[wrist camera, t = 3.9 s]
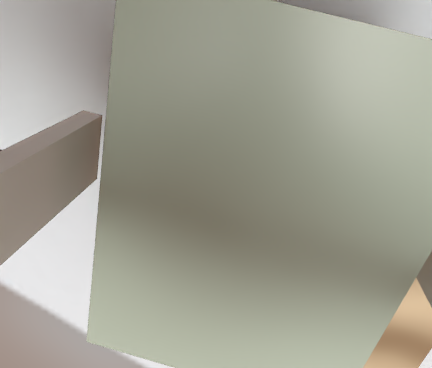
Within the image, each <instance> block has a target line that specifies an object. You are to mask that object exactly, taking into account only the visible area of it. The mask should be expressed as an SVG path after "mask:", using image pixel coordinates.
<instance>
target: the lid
mask: <svg viewBox="0 0 432 368" xmlns="http://www.w3.org/2000/svg"><path fill="white" fill-rule="evenodd" d="M431 251H432V39H429V38H425V37H421V36H417V35H413V34H409V33H405V32H400V31H396V30H392V29H388V28H384V27H380V26H376V25H371V24H367V23H363V22H359V21H355V20H351V19H347V18H343V17H338V16H334V15H330V14H326V13H322V12H318V11H314V10H309V9H305V8H301V7H297V6H293V5H289V4H285V3H281V2H276V1H272V0H116V5H115V17H114V28H113V40H112V52H111V63H110V75H109V87H108V98H107V110H106V121H105V133H104V145H103V156H102V168H101V180H100V191H99V203H98V214H97V226H96V238H95V249H94V261H93V272H92V284H91V296H90V307H89V319H88V331H87V342H89V343H92V344H96V345H100V346H103V347H106V348H109V349H113V350H116V351H120V352H123V353H127V354H130V355H133V356H137V357H140V358H144V359H147V360H150V361H154V362H157V363H161V364H164V365H167V366H171V367H174V368H363V367H364V365H365V364H366V362H367V360H368V358H369V357H370V355H371V353H372V352H373V350H374V348H375V347H376V345H377V343H378V341H379V340H380V338H381V336H382V335H383V333H384V331H385V330H386V328H387V326H388V324H389V323H390V321H391V319H392V318H393V316H394V314H395V313H396V311H397V309H398V307H399V306H400V304H401V302H402V301H403V299H404V297H405V296H406V294H407V292H408V290H409V289H410V287H411V285H412V284H413V282H414V280H415V279H416V277H417V275H418V273H419V272H420V270H421V268H422V267H423V265H424V263H425V262H426V260H427V258H428V256H429V255H430V253H431Z"/></svg>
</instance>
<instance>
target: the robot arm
mask: <svg viewBox="0 0 432 368" xmlns="http://www.w3.org/2000/svg"><path fill="white" fill-rule="evenodd" d="M101 124H102V115H99V114H95V113H91V112H87V111H84V110H83V111H81V112H79V113H77V114H75V115H73V116H71V117H69V118H67V119H65V120H63V121H61V122H59V123H57V124H55V125H53V126H51V127H49V128H46V129H44V130H42V131H40V132H38V133H36V134H34V135H32V136H30V137H28V138H26V139H24V140H22V141H20V142H18V143H16V144H14V145H12V146H10V147H8V148H6V149H4V150H0V265H1V264H3V263H4V262H5V261H6V260H7V259H8V258H9V257H10V256H11V255H13V254H14V253H15V252H16V251H17V250H18V249H19V248H20V247H21V246H23V245H24V244H25V243H26V242H27V241H28V240H29V239H30V238H31V237H33V236H34V235H35V234H36V233H37V232H38V231H39V230H40V229H41V228H43V227H44V226H45V225H46V224H47V223H48V222H49V221H50V220H51V219H53V218H54V217H55V216H56V215H57V214H58V213H59V212H60V211H61V210H63V209H64V208H65V207H66V206H67V205H68V204H69V203H70V202H71V201H73V200H74V199H75V198H76V197H77V196H78V195H79V194H80V193H81V192H83V191H84V190H85V189H86V188H87V187H88V186H89V185H90V184H91V183H93V182H94V181H95V180H96V179H97V171H98V159H99V148H100V136H101ZM416 278H417V280H418V282H419V284H420V286H421V288H422V290H423V292H424V294H425V296H426V298H427V300H428V301H429V303H430V305H431V307H432V251H431V253H430V255H429V256H428V258H427V260H426V262H425V263H424V265H423V267H422V268H421V270H420V272H419V273H418V275H417V277H416Z"/></svg>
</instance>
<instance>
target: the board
mask: <svg viewBox="0 0 432 368" xmlns="http://www.w3.org/2000/svg"><path fill="white" fill-rule="evenodd" d="M431 348H432V307H431V305H430V303H429V301H428V300H427V298H426V296H425V294H424V292H423V290H422V288H421V286H420V284H419V282H418V280H417V278H416V279H415V280H414V282H413V284H412V285H411V287H410V289H409V290H408V292H407V294H406V296H405V297H404V299H403V301H402V302H401V304H400V306H399V307H398V309H397V311H396V313H395V314H394V316H393V318H392V319H391V321H390V323H389V324H388V326H387V328H386V330H385V331H384V333H383V335H382V336H381V338H380V340H379V341H378V343H377V345H376V347H375V348H374V350H373V352H372V353H371V355H370V357H369V358H368V360H367V362H366V364H365V365H364V367H363V368H418V367H419V366H420V364H421V363H422V361H423V360H424V358H425V357H426V356H427V354H428V353H429V351H430V350H431Z"/></svg>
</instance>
